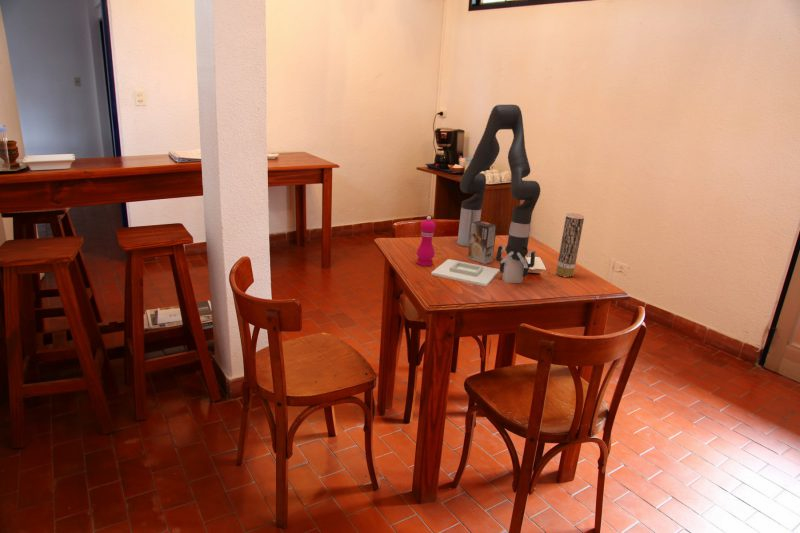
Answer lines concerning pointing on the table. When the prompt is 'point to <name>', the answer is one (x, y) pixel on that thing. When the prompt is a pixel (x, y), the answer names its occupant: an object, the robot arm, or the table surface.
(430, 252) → the pepper mill
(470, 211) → the robot arm
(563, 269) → the paper tube
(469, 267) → the white switch plate
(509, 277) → the white tea box
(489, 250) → the coffee box
